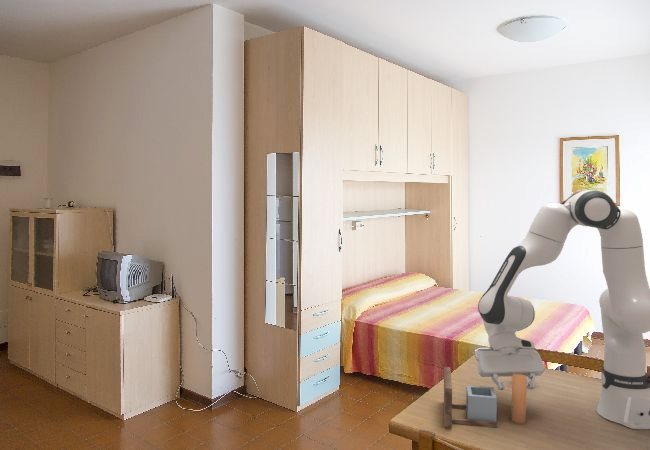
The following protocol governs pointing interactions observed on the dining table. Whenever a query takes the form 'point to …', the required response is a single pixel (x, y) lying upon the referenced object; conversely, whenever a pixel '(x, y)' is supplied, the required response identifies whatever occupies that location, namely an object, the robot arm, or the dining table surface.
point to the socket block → (481, 403)
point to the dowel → (519, 398)
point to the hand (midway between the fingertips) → (516, 388)
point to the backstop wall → (456, 406)
